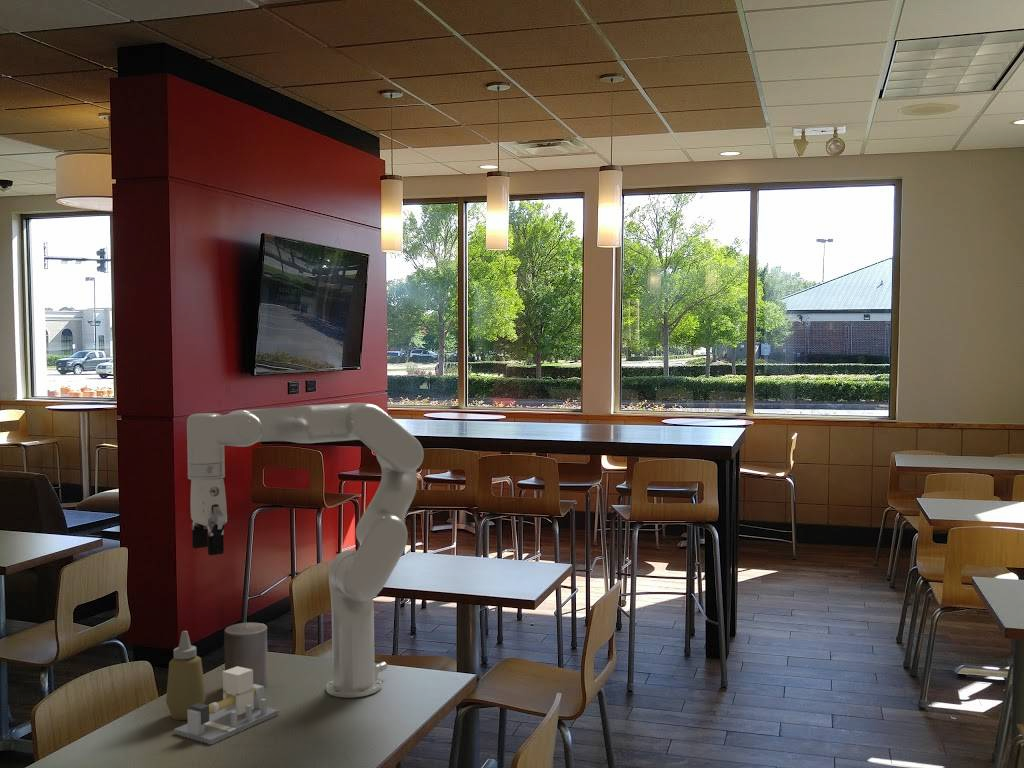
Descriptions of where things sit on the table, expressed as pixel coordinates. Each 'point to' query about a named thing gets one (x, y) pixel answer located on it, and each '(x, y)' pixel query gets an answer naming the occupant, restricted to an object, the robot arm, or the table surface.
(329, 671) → the table surface
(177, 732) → the gray assembly board
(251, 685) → the white block
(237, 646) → the pillar candle
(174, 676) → the squeeze bottle
